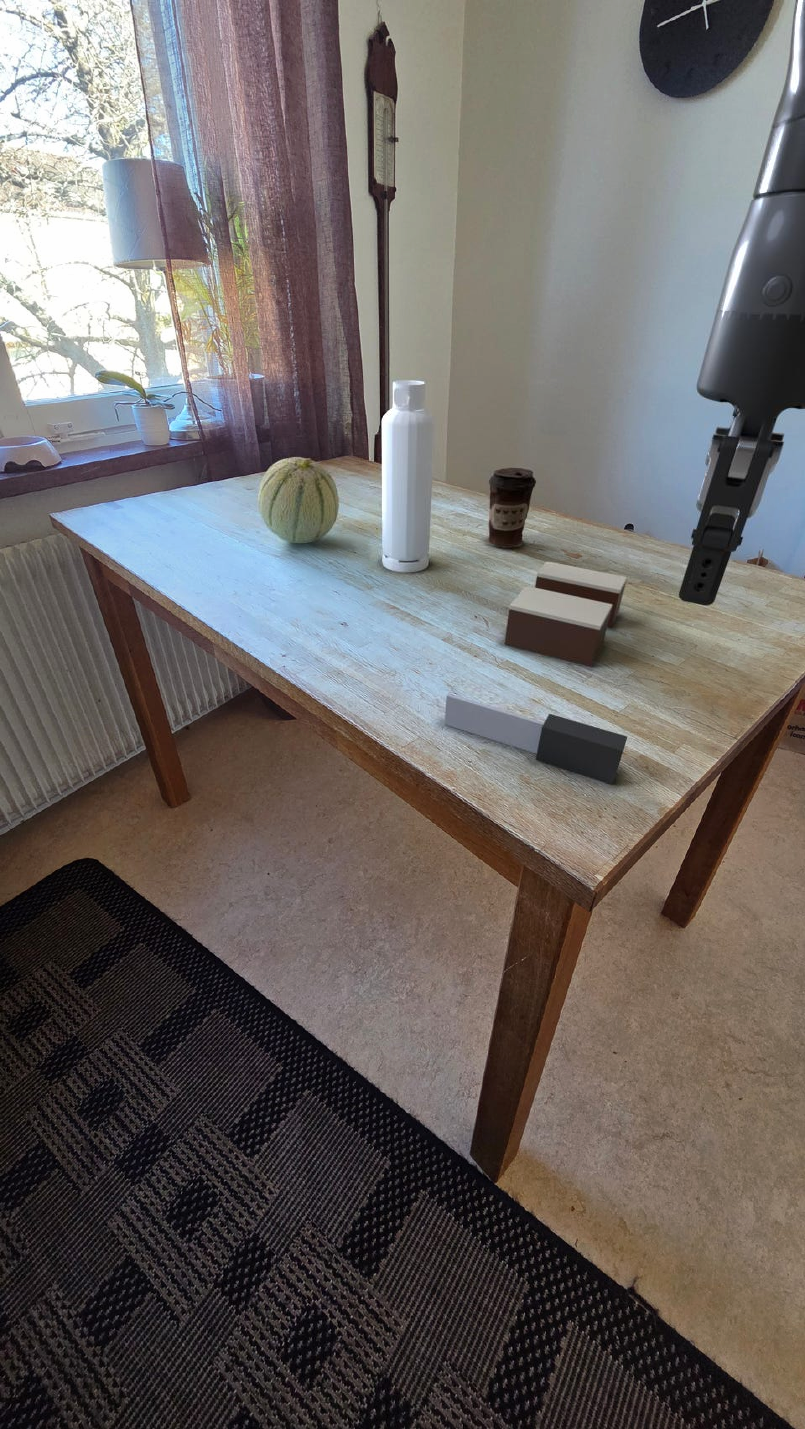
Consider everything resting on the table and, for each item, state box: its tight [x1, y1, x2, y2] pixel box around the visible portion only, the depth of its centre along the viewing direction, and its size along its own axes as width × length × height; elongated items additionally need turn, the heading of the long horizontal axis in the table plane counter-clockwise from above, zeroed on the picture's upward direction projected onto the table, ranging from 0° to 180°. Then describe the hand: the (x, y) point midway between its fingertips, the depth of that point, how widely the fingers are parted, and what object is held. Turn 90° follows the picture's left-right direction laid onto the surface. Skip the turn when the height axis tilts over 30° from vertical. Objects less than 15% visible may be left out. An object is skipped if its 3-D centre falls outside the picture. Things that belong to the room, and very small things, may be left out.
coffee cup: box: [488, 467, 537, 549], centre depth 110 cm, size 9×8×13 cm
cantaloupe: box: [257, 456, 340, 544], centre depth 109 cm, size 15×15×15 cm
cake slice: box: [534, 561, 628, 629], centre depth 90 cm, size 12×5×6 cm, turn 63°
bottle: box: [381, 379, 436, 573], centre depth 97 cm, size 8×8×28 cm
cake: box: [504, 585, 612, 668], centre depth 82 cm, size 12×7×6 cm, turn 62°
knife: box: [444, 693, 628, 785], centre depth 64 cm, size 19×3×4 cm, turn 63°
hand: (701, 578), depth 43 cm, fingers open, 8 cm apart
